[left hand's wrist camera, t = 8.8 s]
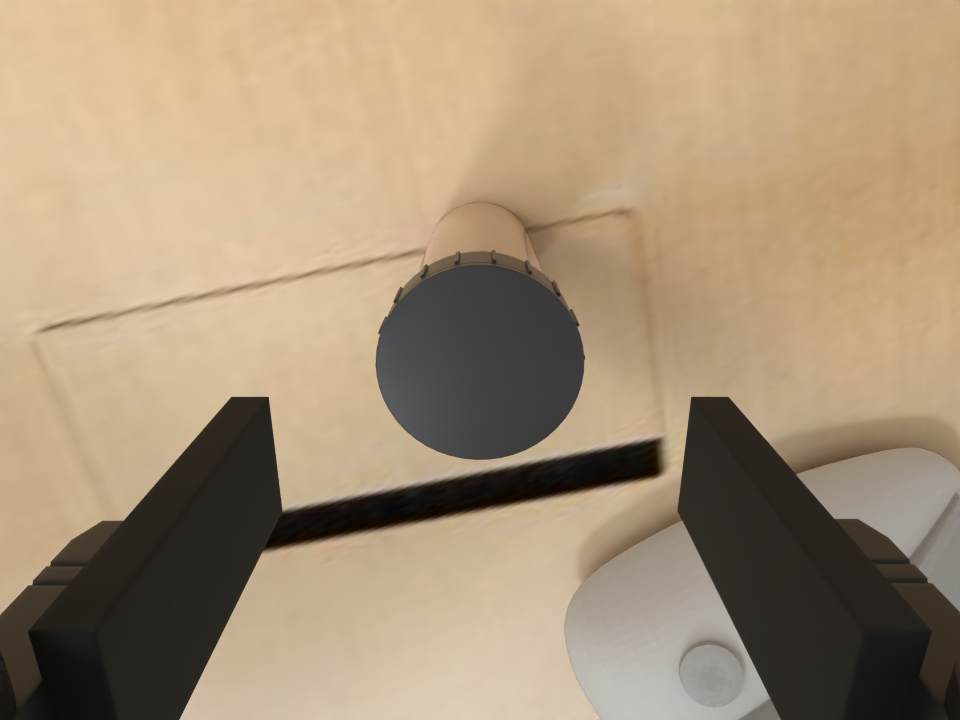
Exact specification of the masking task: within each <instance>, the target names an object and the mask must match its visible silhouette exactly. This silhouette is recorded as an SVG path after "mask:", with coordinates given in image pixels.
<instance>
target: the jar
mask: <svg viewBox="0 0 960 720" xmlns="http://www.w3.org/2000/svg"><path fill="white" fill-rule="evenodd" d="M492 250H495V251H496V253H501V254H505V255H509V256H512V257H515V258H517V259H520V260H522V261H524V262H525V261H526V260H528V261H529V262H530V265H531V266H533V267H535V268H536V269H537V270H539V271H540V272H541V273H542V270H541V268H540V265H539V263H538V260H537V257H536V255H535V252H534V250H533V247H532V245H531V242H530V239H529V237H528V234H527V232H526V230H525V228H524V227H523V225H522V224H521V222H520V221H519V220H518V219H517V218H516V217H515V216H514V215H513V214H512V213H510V212H509V211H508V210H506V209H504V208H502V207H500V206H497V205H494V204H490V203H470V204H466V205H463V206H460V207H458V208H456V209H454V210H453V211H451V212H450V213H448V214H447V215H446V216H445V217H444V218H443V219H442V220H441V221H440V222H439V224H438V225H437V227H436V228H435V230H434V232H433V234H432V237H431V240H430V242H429V245H428V247H427V250H426V252H425V255H424V258H423V260H422V263H421V265H420V268H419V270H418V273H419V272H420V271H421V270H422V269H423V266H424V265H426V264H427V265H428V266H429V265H430V264H432V263H434V262H436V261H438V260H440V259H443V258H445V257H448V256H451V255H455V254H456V252H457V251H460V253H465V252H471V251H487V252H492Z"/></svg>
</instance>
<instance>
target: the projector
mask: <svg viewBox="0 0 960 720" xmlns="http://www.w3.org/2000/svg"><path fill="white" fill-rule="evenodd" d="M796 475H797V476H798V477H799V479H800V480H801V481H802V482H803V483H804V484H805V486H806V487H807V488H808V489H809V490H810V491H811V492H812V494H813V495H814V496H815V497H816V498H817V499H818V500H819V502H820V503H821V504H822V505H823V506H824V507H825V508H826V510H827V511H828V512H829V513H830V514H831V515H832V517H833V518H834V519H859V520H861V521H862V522H864V523H866V524H867V525H869V526H870V527H872V528H874V529H875V530H877V531H879V532H880V533H882V534H883V535H885V536H887V537H888V538H889V539H890V540H891V541H892V542H893V543H894V544H895V545H896V546H897V547H898V548H899V549H900V550H901V551H902V552H903V553H904V554H905V555H906V556H907V557H908V558H909V559H910V564H914V565H915V566H916V567H917V568H918V569H919V570H920V571H921V572H922V573H923V574H924V575H925V576H926V577H927V578H928V583H933V584H934V585H935V587H936V588H937V589H938V590H939V591H940V592H941V593H942V594H943V595H944V596H945V597H946V598H947V599H948V600H949V601H950V602H951V603H952V604H953V605H954V606H955V607H956V608H957V609H958V611H959V612H960V471H959V470H958V469H957V467H955V466H954V465H953V464H952V463H951V462H950V461H948V460H947V459H946V458H944V457H942V456H940V455H938V454H936V453H934V452H932V451H929V450H925V449H922V448H915V447H909V448H896V449H890V450H884V451H879V452H875V453H870V454H865V455H861V456H857V457H853V458H849V459H845V460H841V461H838V462H834V463H831V464H827V465H823V466H820V467H817V468H813V469H810V470H807V471H804V472H801V473H797V474H796ZM565 640H566V647H567V651H568V655H569V659H570V663H571V666H572V668H573V671H574V674H575V676H576V679H577V681H578V683H579V685H580V687H581V688H582V690H583V692H584V694H585V696H586V698H587V699H588V701H589V702H590V704H591V705H592V707H593V709H594V710H595V712H596V713H597V715H598V716H599V717H600V719H601V720H781V719H780V717H779V715H778V713H777V711H776V709H775V707H774V705H773V703H772V701H771V699H770V697H769V695H768V693H767V691H766V689H765V687H764V685H763V683H762V681H761V679H760V677H759V675H758V673H757V671H756V669H755V667H754V665H753V663H752V661H751V659H750V656H749V654H748V652H747V650H746V648H745V646H744V644H743V642H742V640H741V638H740V636H739V634H738V632H737V630H736V628H735V626H734V624H733V622H732V620H731V618H730V616H729V614H728V612H727V610H726V608H725V606H724V604H723V602H722V600H721V598H720V596H719V594H718V592H717V590H716V588H715V586H714V584H713V582H712V580H711V578H710V576H709V574H708V572H707V570H706V568H705V566H704V564H703V561H702V559H701V557H700V555H699V553H698V551H697V549H696V547H695V545H694V543H693V541H692V539H691V537H690V535H689V533H688V531H687V529H686V527H685V525H684V523H683V521H682V520H681V521H679V522H677V523H675V524H673V525H671V526H669V527H667V528H665V529H663V530H661V531H659V532H657V533H656V534H654V535H652V536H650V537H648V538H646V539H645V540H643V541H641V542H639V543H637V544H636V545H634V546H632V547H631V548H629V549H627V550H626V551H624V552H622V553H621V554H619V555H617V556H616V557H614V558H613V559H611V560H610V561H609V562H607V563H606V564H604V565H603V566H601V567H600V568H599V569H598V570H597V571H595V572H594V573H593V574H592V575H591V576H589V577H588V578H587V579H586V580H585V581H584V582H583V583H582V584H581V586H580V587H579V588H578V589H577V591H576V592H575V594H574V595H573V597H572V599H571V601H570V604H569V606H568V608H567V612H566V617H565Z"/></svg>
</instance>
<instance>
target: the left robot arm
mask: <svg viewBox="0 0 960 720" xmlns="http://www.w3.org/2000/svg"><path fill="white" fill-rule="evenodd" d="M281 513H282V504H281V496H280V487H279V479H278V471H277V462H276V454H275V446H274V438H273V429H272V421H271V413H270V404H269V397H231V398H230V399H229V401H228V402H227V403H226V404H225V405H224V406H223V407H222V409H221V410H220V411H219V412H218V413H217V414H216V415H215V417H214V418H213V419H212V420H211V421H210V422H209V423H208V425H207V426H206V427H205V428H204V429H203V430H202V432H201V433H200V434H199V435H198V436H197V437H196V438H195V440H194V441H193V442H192V443H191V444H190V445H189V446H188V448H187V449H186V450H185V451H184V452H183V453H182V455H181V456H180V457H179V458H178V459H177V460H176V461H175V463H174V464H173V465H172V466H171V467H170V468H169V469H168V471H167V472H166V473H165V474H164V475H163V476H162V477H161V479H160V480H159V481H158V482H157V483H156V484H155V486H154V487H153V488H152V489H151V490H150V491H149V492H148V494H147V495H146V496H145V497H144V498H143V499H142V500H141V502H140V503H139V504H138V505H137V506H136V507H135V508H134V510H133V511H132V512H131V513H130V514H129V515H128V517H127V518H126V519H125V520H124V521H102V522H100V523H98V524H97V525H95V526H94V527H92V528H90V529H89V530H87V531H86V532H84V533H82V534H81V535H79V536H77V537H76V538H74V539H73V540H71V541H70V542H69V544H68V545H67V546H66V547H65V548H64V549H63V550H62V551H61V552H60V553H59V554H58V555H57V556H56V557H55V558H54V559H53V560H52V561H51V565H50V567H46V568H45V569H44V570H43V571H42V572H41V573H40V574H39V575H38V576H37V577H36V578H35V579H34V580H33V585H32V586H28V587H27V588H26V589H25V590H24V591H23V592H22V593H21V594H20V595H19V596H18V597H17V598H16V599H15V600H14V601H13V602H12V603H11V604H10V605H9V606H8V608H7V609H6V610H5V611H4V612H3V613H2V614H1V615H0V720H179V719H180V717H181V715H182V713H183V711H184V709H185V707H186V705H187V703H188V701H189V699H190V697H191V695H192V693H193V691H194V689H195V687H196V685H197V683H198V681H199V679H200V677H201V675H202V673H203V671H204V669H205V667H206V665H207V663H208V661H209V659H210V656H211V654H212V652H213V650H214V648H215V646H216V644H217V642H218V640H219V638H220V636H221V634H222V632H223V630H224V628H225V626H226V624H227V622H228V620H229V618H230V616H231V614H232V612H233V610H234V608H235V606H236V604H237V602H238V600H239V598H240V596H241V594H242V592H243V590H244V588H245V586H246V584H247V582H248V580H249V578H250V576H251V574H252V572H253V570H254V568H255V566H256V564H257V561H258V559H259V557H260V555H261V553H262V551H263V549H264V547H265V545H266V543H267V541H268V539H269V537H270V535H271V533H272V531H273V529H274V527H275V525H276V523H277V521H278V519H279V517H280V515H281ZM678 513H679V515H680V517H681V519H682V521H683V523H684V525H685V527H686V529H687V531H688V533H689V535H690V537H691V539H692V541H693V543H694V545H695V547H696V549H697V551H698V553H699V555H700V557H701V559H702V561H703V564H704V566H705V568H706V570H707V572H708V574H709V576H710V578H711V580H712V582H713V584H714V586H715V588H716V590H717V592H718V594H719V596H720V598H721V600H722V602H723V604H724V606H725V608H726V610H727V612H728V614H729V616H730V618H731V620H732V622H733V624H734V626H735V628H736V630H737V632H738V634H739V636H740V638H741V640H742V642H743V644H744V646H745V648H746V650H747V652H748V654H749V656H750V659H751V661H752V663H753V665H754V667H755V669H756V671H757V673H758V675H759V677H760V679H761V681H762V683H763V685H764V687H765V689H766V691H767V693H768V695H769V697H770V699H771V701H772V703H773V705H774V707H775V709H776V711H777V713H778V715H779V717H780V719H781V720H960V612H959V611H958V609H957V608H956V607H955V606H954V605H953V604H952V603H951V602H950V601H949V600H948V599H947V598H946V597H945V596H944V595H943V594H942V593H941V592H940V591H939V590H938V589H937V588H936V587H935V585H934V584H933V583H928V578H927V577H926V576H925V575H924V574H923V573H922V572H921V571H920V570H919V569H918V568H917V567H916V566H915V565H914V564H910V559H909V558H908V557H907V556H906V555H905V554H904V553H903V552H902V551H901V550H900V549H899V548H898V547H897V546H896V545H895V544H894V543H893V542H892V541H891V540H890V539H889V538H888V537H887V536H885V535H883V534H882V533H880V532H879V531H877V530H875V529H874V528H872V527H870V526H869V525H867V524H866V523H864V522H862V521H861V520H859V519H834V518H833V517H832V515H831V514H830V513H829V512H828V511H827V510H826V508H825V507H824V506H823V505H822V504H821V503H820V502H819V500H818V499H817V498H816V497H815V496H814V495H813V494H812V492H811V491H810V490H809V489H808V488H807V487H806V486H805V484H804V483H803V482H802V481H801V480H800V479H799V477H798V476H797V475H796V474H795V473H794V472H793V471H792V469H791V468H790V467H789V466H788V465H787V464H786V463H785V461H784V460H783V459H782V458H781V457H780V456H779V454H778V453H777V452H776V451H775V450H774V449H773V448H772V446H771V445H770V444H769V443H768V442H767V441H766V440H765V438H764V437H763V436H762V435H761V434H760V433H759V432H758V430H757V429H756V428H755V427H754V426H753V425H752V423H751V422H750V421H749V420H748V419H747V418H746V417H745V415H744V414H743V413H742V412H741V411H740V410H739V409H738V407H737V406H736V405H735V404H734V403H733V402H732V401H731V399H730V398H729V397H691V405H690V413H689V421H688V429H687V438H686V446H685V454H684V462H683V471H682V479H681V487H680V496H679V504H678Z"/></svg>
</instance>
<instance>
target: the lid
mask: <svg viewBox="0 0 960 720" xmlns="http://www.w3.org/2000/svg"><path fill="white" fill-rule="evenodd" d="M393 302H394V304H393V306H392V308H391V310H390V312H389V314H388V317H385V319H384V321H383V323H382V325H381V327H380V330H379V332H378V334H380V337H379V341H378V346H377V352H376V372H377V379H378V383H379V388H380V391H381V393H382V396H383V399H384V401H385V403H386V405H387V407H388V409H389V410H390V412H391V413H392V415H393V416H394V418H395V419H396V420H397V422H398V423H399V424H400V425H401V426H402V427H403V428H404V429H405V430H406V431H407V432H408V433H409V434H410V435H412V436H413V437H414V438H415V439H417V440H418V441H420V442H421V443H423V444H424V445H426V446H428V447H430V448H432V449H434V450H436V451H438V452H441V453H444V454H447V455H450V456H454V457H459V458H464V459H474V460H485V459H495V458H502V457H506V456H510V455H514V454H516V453H519V452H522V451H524V450H526V449H528V448H530V447H532V446H534V445H536V444H538V443H539V442H540V441H542V440H543V439H545V438H546V437H548V436H549V435H550V434H551V433H552V432H553V431H554V430H555V429H556V428H557V427H558V426H559V425H560V424H561V423H562V422H563V420H564V419H565V418H566V416H567V415H568V413H569V412H570V410H571V409H572V407H573V405H574V403H575V401H576V399H577V397H578V394H579V391H580V388H581V385H582V379H583V373H584V360H585V356H584V352H583V345H582V341H581V337H580V333H579V331H578V328H577V326H579V323H578V321H577V319H576V316H575V314H574V312H573V310H572V309H571V310H569V308H568V305H567V303H566V302H565V300H564V298H563V296H562V295H561V293H560V291H559V288H558V286H557V284H556V282H555V281H553V282H551V281H550V280H549V279H548V278H547V277H546V276H545V275H544V274H543V273H541V272H540V271H539V270H537V269H536V268H535V267H533V266H531V265H530V262H529V261H528V260H526V261H525V262H524V261H522V260H520V259H517V258H515V257H512V256H509V255H505V254H501V253H496V251H495V250H492V252H487V251H471V252H465V253H460V251H457V252H456V254H455V255H451V256H448V257H445V258H443V259H440V260H438V261H436V262H434V263H432V264H430V265H429V266H428V265H427V264H426V265H424V266H423V269H422V270H421V271H420V272H419V273H417V274H416V275H415V276H414V277H413V278H412V279H411V280H410V281H409V282H408V283H407V284H406V285H405V286H404V288H402V287H400V289H399V290H398V292H397V295H396V297H395V299H394V301H393Z"/></svg>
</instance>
